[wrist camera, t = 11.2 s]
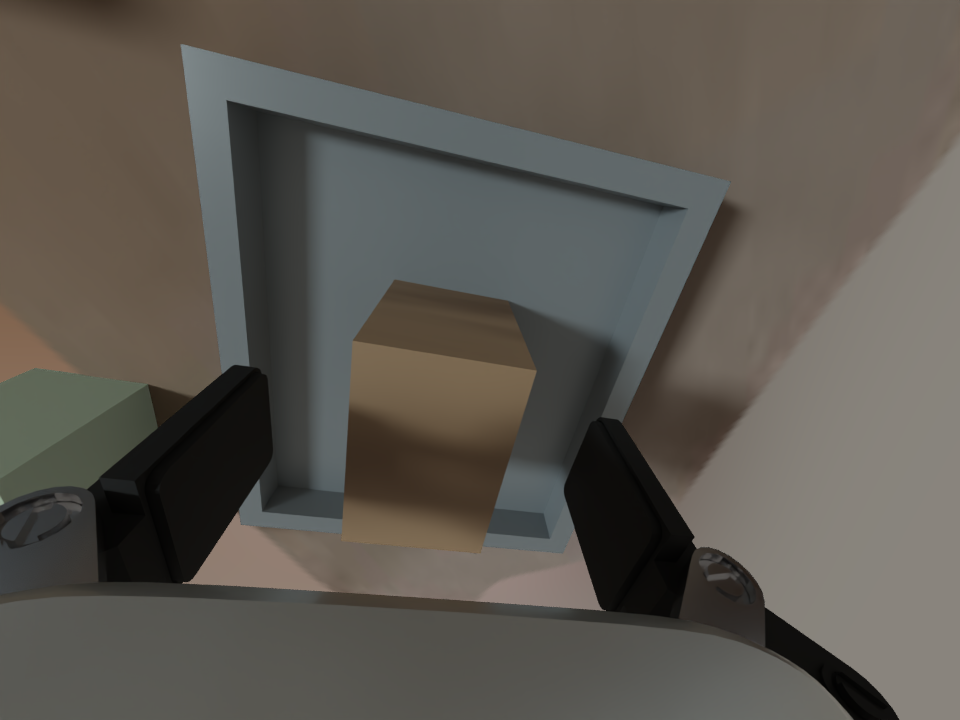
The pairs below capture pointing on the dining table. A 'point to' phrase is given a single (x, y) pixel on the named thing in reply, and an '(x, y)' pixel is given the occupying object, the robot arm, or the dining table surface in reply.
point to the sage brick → (67, 429)
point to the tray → (426, 267)
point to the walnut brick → (432, 417)
